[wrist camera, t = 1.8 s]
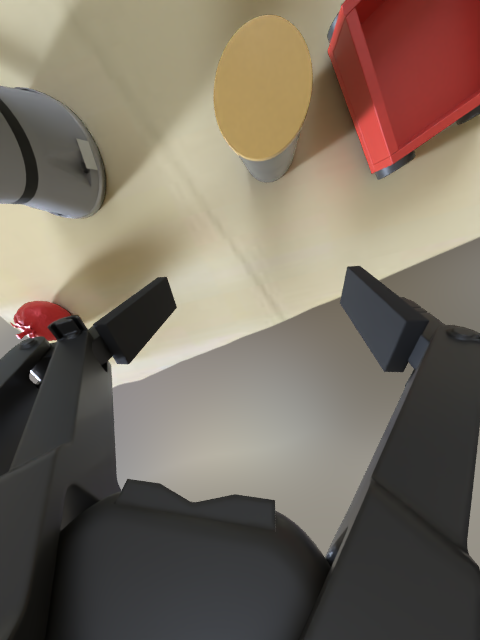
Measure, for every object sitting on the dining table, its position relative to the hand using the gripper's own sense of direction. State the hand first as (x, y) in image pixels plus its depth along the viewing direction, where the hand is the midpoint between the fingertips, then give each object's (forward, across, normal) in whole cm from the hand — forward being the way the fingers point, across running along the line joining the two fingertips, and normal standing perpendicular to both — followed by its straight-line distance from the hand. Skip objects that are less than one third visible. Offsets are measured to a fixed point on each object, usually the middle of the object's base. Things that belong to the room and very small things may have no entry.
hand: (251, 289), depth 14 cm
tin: (+20, +1, +11) cm, 23 cm away
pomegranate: (+21, -50, -14) cm, 56 cm away
